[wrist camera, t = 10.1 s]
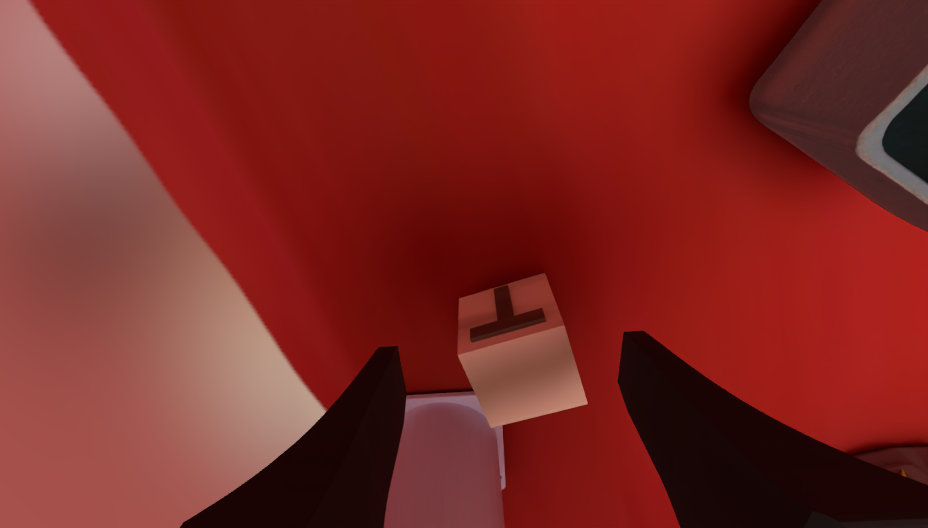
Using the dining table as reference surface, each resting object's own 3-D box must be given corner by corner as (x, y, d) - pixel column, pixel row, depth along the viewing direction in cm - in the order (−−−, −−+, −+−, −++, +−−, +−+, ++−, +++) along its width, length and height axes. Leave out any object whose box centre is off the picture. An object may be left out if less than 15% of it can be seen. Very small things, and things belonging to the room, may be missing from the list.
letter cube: (565, 341, 24) (587, 403, 20) (486, 362, 25) (491, 428, 21) (543, 268, 22) (562, 320, 18) (457, 294, 23) (455, 351, 18)
